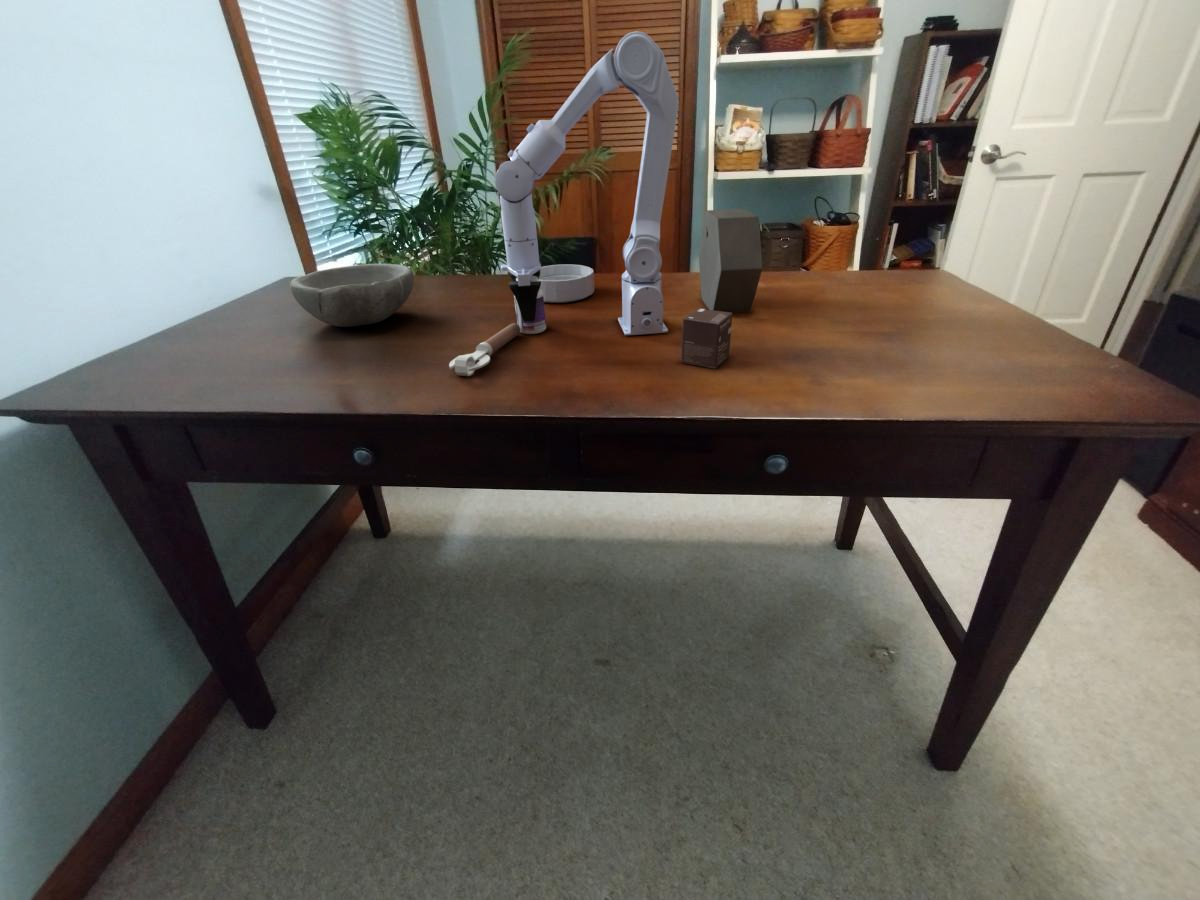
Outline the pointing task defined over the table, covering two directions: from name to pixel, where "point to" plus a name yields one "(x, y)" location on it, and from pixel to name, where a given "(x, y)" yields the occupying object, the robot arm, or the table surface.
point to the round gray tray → (566, 282)
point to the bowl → (354, 293)
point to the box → (706, 338)
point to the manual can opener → (483, 351)
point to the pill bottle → (540, 320)
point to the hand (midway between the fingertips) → (529, 315)
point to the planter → (730, 260)
